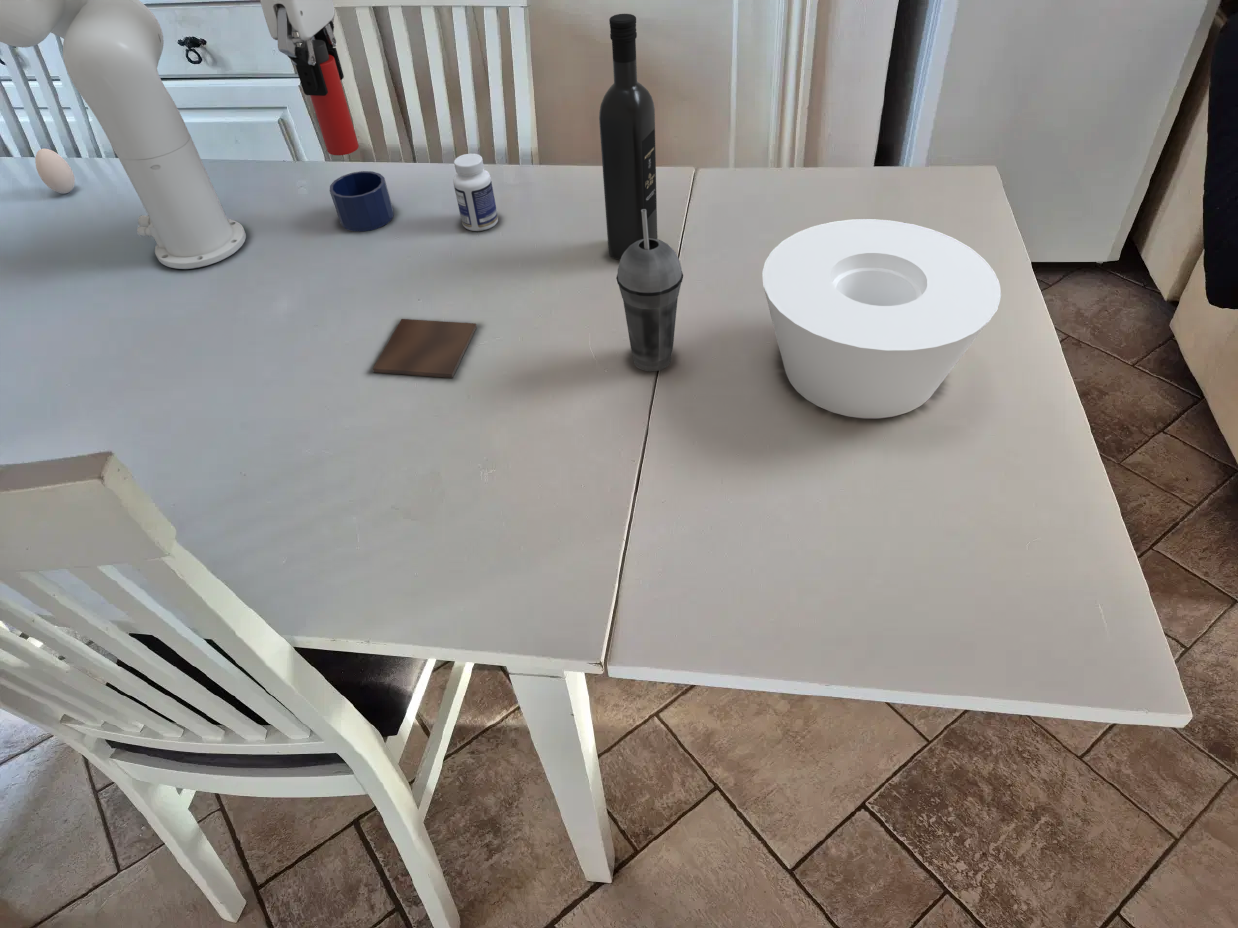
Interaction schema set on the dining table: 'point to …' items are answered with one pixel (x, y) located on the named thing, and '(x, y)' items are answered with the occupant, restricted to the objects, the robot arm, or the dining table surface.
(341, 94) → the sauce bottle
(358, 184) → the blue cup
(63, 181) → the egg
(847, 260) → the recessed white cone
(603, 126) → the wine bottle
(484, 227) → the pill bottle
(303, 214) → the dining table surface
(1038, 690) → the dining table surface
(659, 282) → the beverage cup
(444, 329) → the coaster
